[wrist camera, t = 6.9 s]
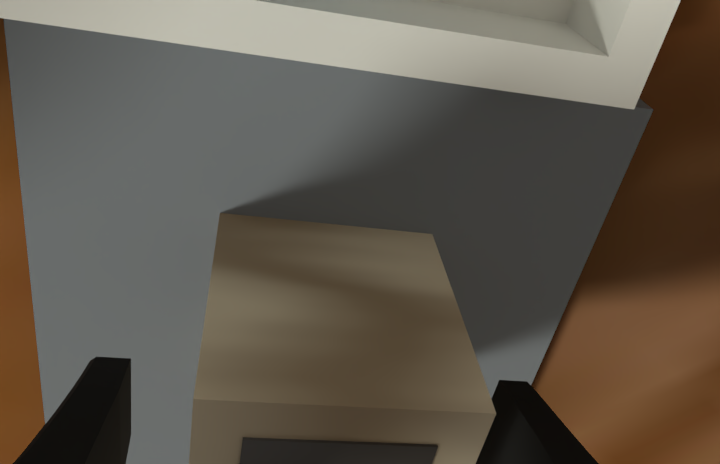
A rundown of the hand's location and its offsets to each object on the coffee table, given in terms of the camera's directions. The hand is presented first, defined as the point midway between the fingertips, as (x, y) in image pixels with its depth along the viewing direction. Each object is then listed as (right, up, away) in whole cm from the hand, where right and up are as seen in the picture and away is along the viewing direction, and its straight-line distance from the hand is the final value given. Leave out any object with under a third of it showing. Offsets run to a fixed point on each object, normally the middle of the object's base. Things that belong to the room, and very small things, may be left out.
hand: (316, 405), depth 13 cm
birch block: (0, +2, +2) cm, 3 cm away
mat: (0, +2, +3) cm, 3 cm away
